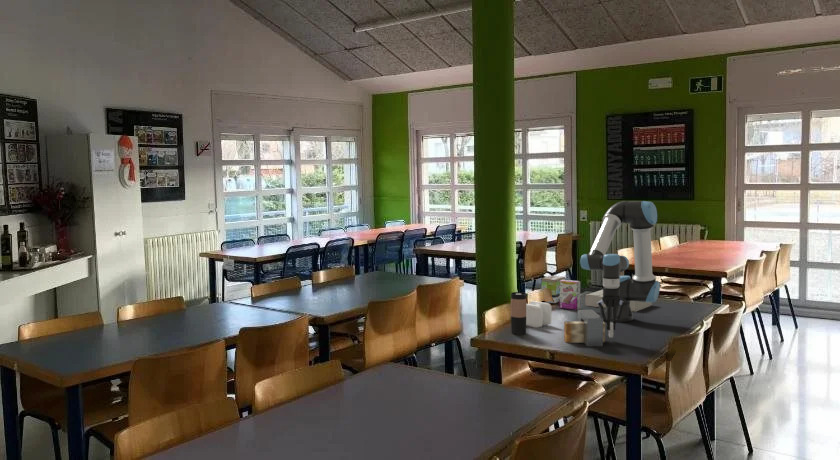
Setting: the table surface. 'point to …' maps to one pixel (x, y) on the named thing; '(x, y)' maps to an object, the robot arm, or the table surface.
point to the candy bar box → (569, 294)
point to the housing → (592, 327)
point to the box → (597, 296)
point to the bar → (576, 331)
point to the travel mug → (518, 313)
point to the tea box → (553, 286)
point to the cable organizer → (538, 314)
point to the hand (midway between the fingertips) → (610, 336)
